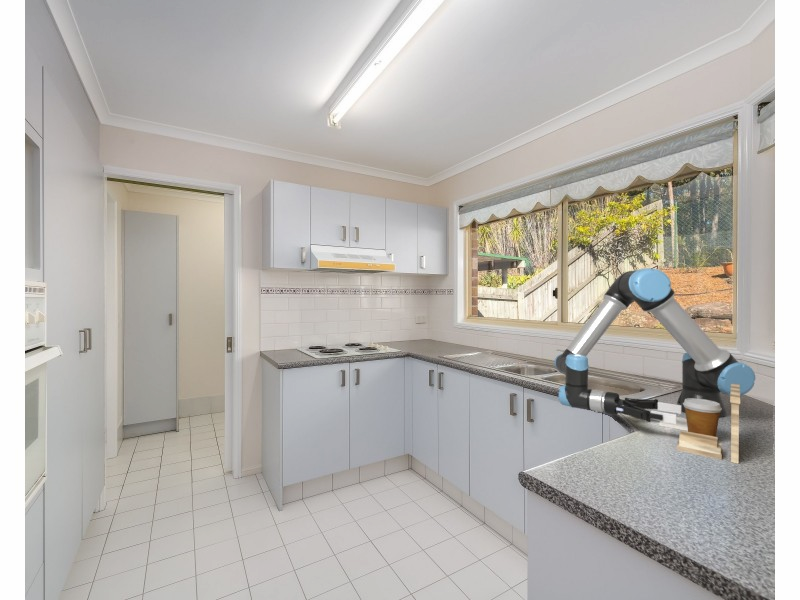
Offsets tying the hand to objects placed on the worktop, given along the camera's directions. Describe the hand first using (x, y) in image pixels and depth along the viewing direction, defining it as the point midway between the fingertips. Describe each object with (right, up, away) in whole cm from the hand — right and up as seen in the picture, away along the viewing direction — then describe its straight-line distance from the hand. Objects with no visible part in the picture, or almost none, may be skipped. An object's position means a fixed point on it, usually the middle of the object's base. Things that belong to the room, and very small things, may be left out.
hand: (679, 414), depth 123 cm
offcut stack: (-3, -7, -12) cm, 15 cm away
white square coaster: (+9, -7, +11) cm, 16 cm away
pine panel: (+8, -7, -11) cm, 15 cm away
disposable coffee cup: (+5, -7, -3) cm, 9 cm away
